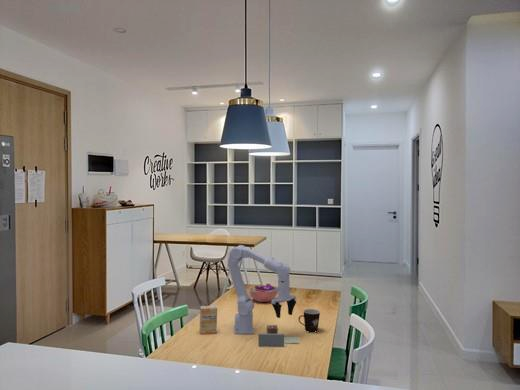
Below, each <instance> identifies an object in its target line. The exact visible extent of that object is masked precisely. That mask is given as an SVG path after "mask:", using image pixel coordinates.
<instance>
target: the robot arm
mask: <svg viewBox="0 0 520 390" xmlns="http://www.w3.org/2000/svg"><path fill="white" fill-rule="evenodd" d="M246 258H248V259H249V258H250V259H252V260H254V261H256V262H258V263H261V264H263V267H264V268H266V269H267V270H270V271H271V272H273V273H275V274H276V275H277V277H278V280H277V288H278V292H277V296H278V297H276V298H275V297H274V298H273V299H272V300H271V301H270V302H271V305H272V307H273V310H274V313H275V316H276V318H278V319H280V318H281V310H282V304H281V303H285V302H286V305H287V314H288V315H289V316H293V312H294V309H295V306H296V304H297V295H294V294H293V295H291V294H290V293H291V291H290V290H291V289H290V284H291V283H290V273H291V267H290V266H289V265H288V264H287V263H283V262H282V261H281V262H280V261H278V260H276V259H275V258H274V257H271V256H270V257H266V256H263V255H262V254H260V253H258V252H257V251H254V250H253V249H251V248H250V247H247V246H245V245H243V244H239V245H238V246H234V247H233V248H231V249H230V251H229V253H228V259H227V260H228V261H227V267H228V270H229V274H230V276H231V281H232V284H233V287H234V290H235V292H236V296H237V303H236V304H237V312H238V313H235V314H234V325H233V329H234V334H236V335H237V334H241V335H242V334H243V335H253V334H254V327H253V326H254V323H253V322H254V321H253V320H254V318H253V317H254V313H253V309H254V308H255V303H254V301H253V300H252V297H251V295H250V294H248V292H247V291H248V290H247V288H246V285H245V282H244V279H243V275H242V273H241V269H240V266H239V265H240V263H241V260H242V259H246Z"/></svg>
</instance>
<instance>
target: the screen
mask: <svg viewBox="0 0 520 390" xmlns="http://www.w3.org/2000/svg"><path fill="white" fill-rule="evenodd" d="M284 337H285V333H278V334H267V333H258V345H257V346H258V347H285V344H284Z"/></svg>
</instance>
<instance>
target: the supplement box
mask: <svg viewBox="0 0 520 390" xmlns="http://www.w3.org/2000/svg"><path fill="white" fill-rule="evenodd" d="M199 307H200V308H199V333H200V335H208V334H217V332H218V331H217V328H218V307H217V305H201V306H199Z"/></svg>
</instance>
